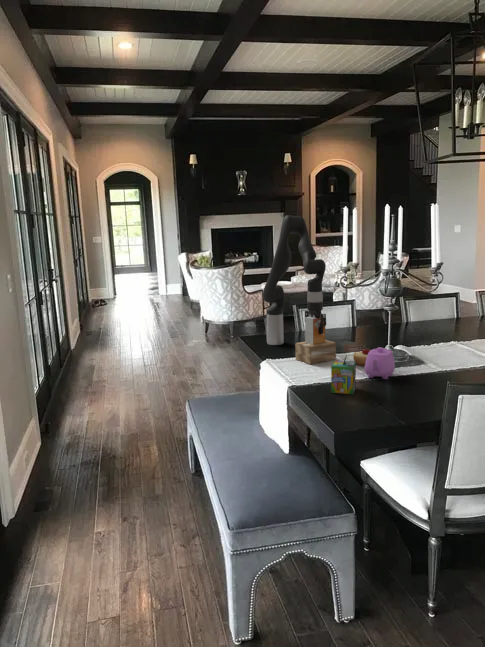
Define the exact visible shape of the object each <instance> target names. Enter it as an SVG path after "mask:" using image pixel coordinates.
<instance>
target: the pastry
mask: <svg viewBox="0 0 485 647" xmlns="http://www.w3.org/2000/svg"><path fill="white" fill-rule="evenodd" d="M370 350H371V349H369V348H367V347H366V345H364V348H363V349H362V350H361V351H357V352H354V353H353V354H352V358H353V361H356V366H360V367H365V362H366V358H367V355H368V353H369V351H370Z"/></svg>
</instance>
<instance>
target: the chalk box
mask: <svg viewBox="0 0 485 647" xmlns="http://www.w3.org/2000/svg"><path fill="white" fill-rule="evenodd" d="M346 359H347V354H345V357H344V360H341V359H340V360H333V362H332V364H331V370H330V371H331V373H330V374H331V376H330V378H331V379H330V380H331V382H330V386H331V387H330V393H331V394H343V395H346V394H347V395H354V393H355V390H356V379H357V378H356V377H357V376H356V373H357V369H356V368H357V367H356V366H357V364H356V361H354V360H346Z"/></svg>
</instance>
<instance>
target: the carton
mask: <svg viewBox="0 0 485 647" xmlns="http://www.w3.org/2000/svg"><path fill="white" fill-rule="evenodd" d="M294 348H295V351H294V352H295V354H294V355H295V361H298V362H301V363H303V362H304V364H307V365H315V364H321V363H326V362H330V361H334V360H335V359H337V344H336V343H335V344H331V345H326V346H320V347H315V348H307V347H303V346H300V345H297V344H296V343H295V346H294Z"/></svg>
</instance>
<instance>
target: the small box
mask: <svg viewBox="0 0 485 647" xmlns="http://www.w3.org/2000/svg"><path fill="white" fill-rule="evenodd" d="M317 320H318V321H320V320H321V318H313V317H305V316H304V324H305V325H304V328H305V330H304V334H305V340H304V341H305V342H306V343H309V344H313V345H314V344H318V343H324V342H325V340H326V326H324V327H323V334H319V326H318V324H317ZM320 324H321V323H320ZM323 324H324V321H323Z"/></svg>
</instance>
